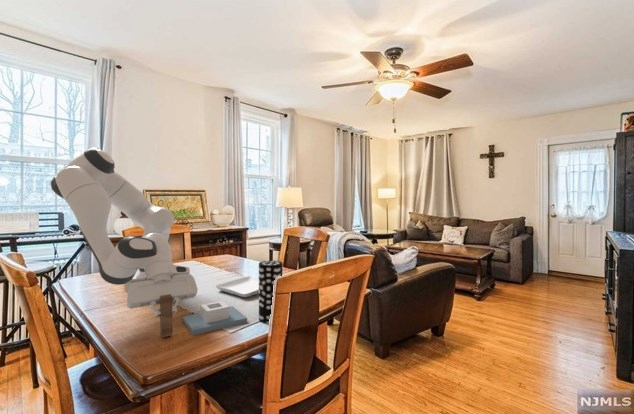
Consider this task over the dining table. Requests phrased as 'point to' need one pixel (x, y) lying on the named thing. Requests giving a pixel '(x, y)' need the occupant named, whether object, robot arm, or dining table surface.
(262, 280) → the white-spotted black cylinder
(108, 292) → the dining table surface
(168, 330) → the brown wooden peg
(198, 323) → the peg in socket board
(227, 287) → the salad plate
